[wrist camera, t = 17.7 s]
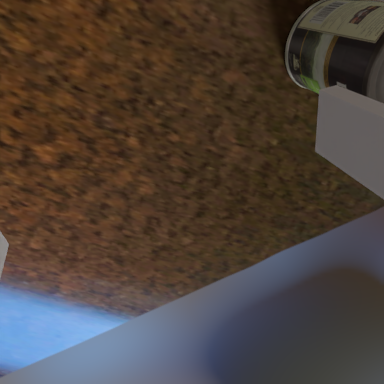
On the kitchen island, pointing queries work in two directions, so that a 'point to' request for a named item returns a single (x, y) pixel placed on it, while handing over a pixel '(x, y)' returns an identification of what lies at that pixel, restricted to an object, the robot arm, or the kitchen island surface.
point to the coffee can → (339, 47)
